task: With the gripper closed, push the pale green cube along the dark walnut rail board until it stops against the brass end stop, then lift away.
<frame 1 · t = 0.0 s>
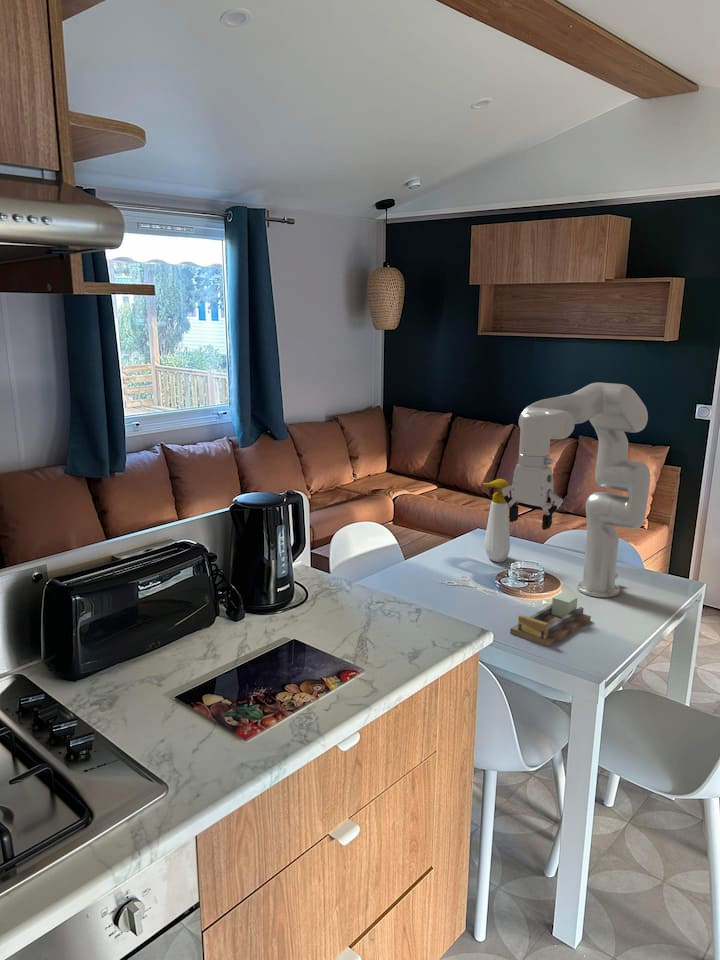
hand: (529, 524, 194), 31 cm above the table, tool pointing down, fingers open, 9 cm apart
track: (551, 627, 206), on the table
spray bottle: (493, 559, 261), on the table
scissors: (473, 589, 235), on the table
pale green cube: (564, 605, 210), point 4 cm above the table, slide at 0.0 cm
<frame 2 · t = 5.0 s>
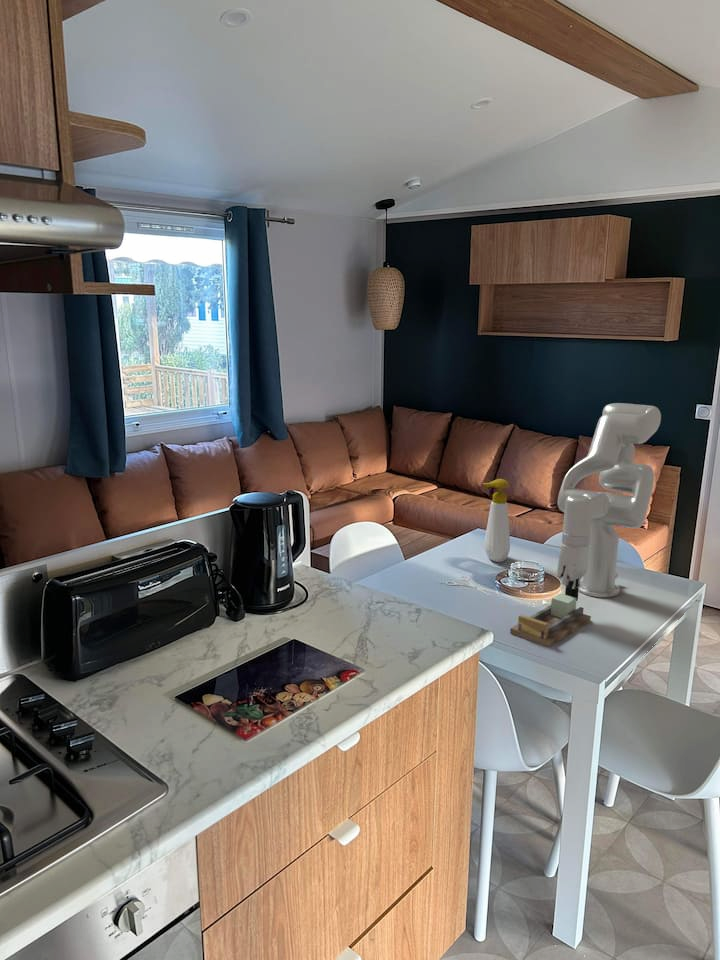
hand: (571, 600, 212), 5 cm above the table, tool pointing down, fingers closed
pale green cube: (563, 606, 209), point 4 cm above the table, slide at 0.5 cm, touching gripper
everything else where it was.
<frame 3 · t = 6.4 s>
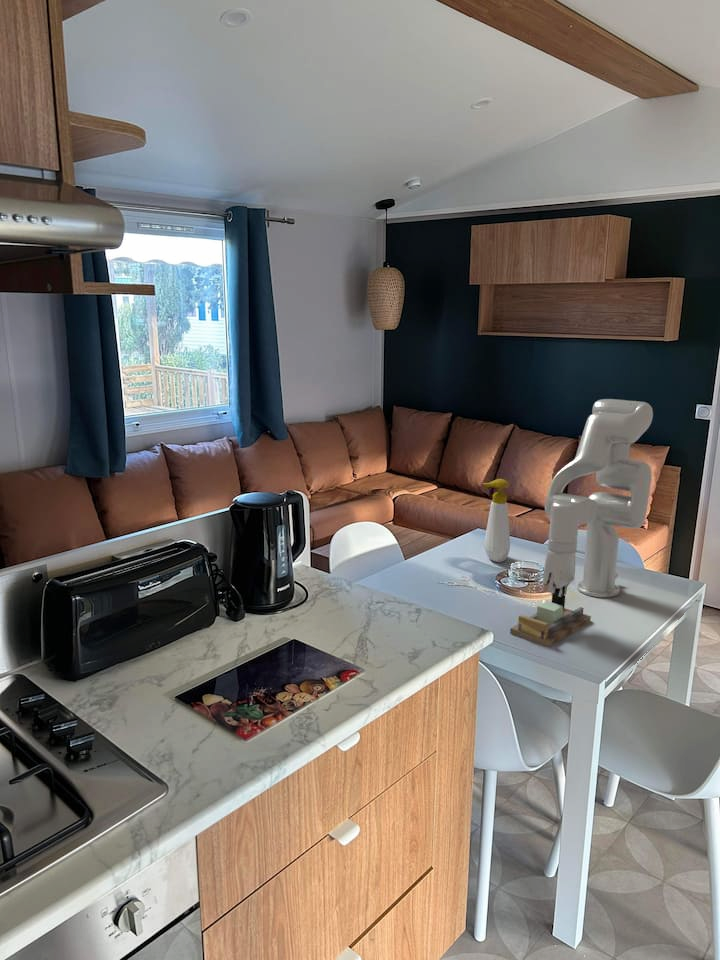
hand: (557, 608, 207), 5 cm above the table, tool pointing down, fingers closed
pale green cube: (549, 614, 204), point 4 cm above the table, slide at 8.3 cm, touching gripper
everything else where it was.
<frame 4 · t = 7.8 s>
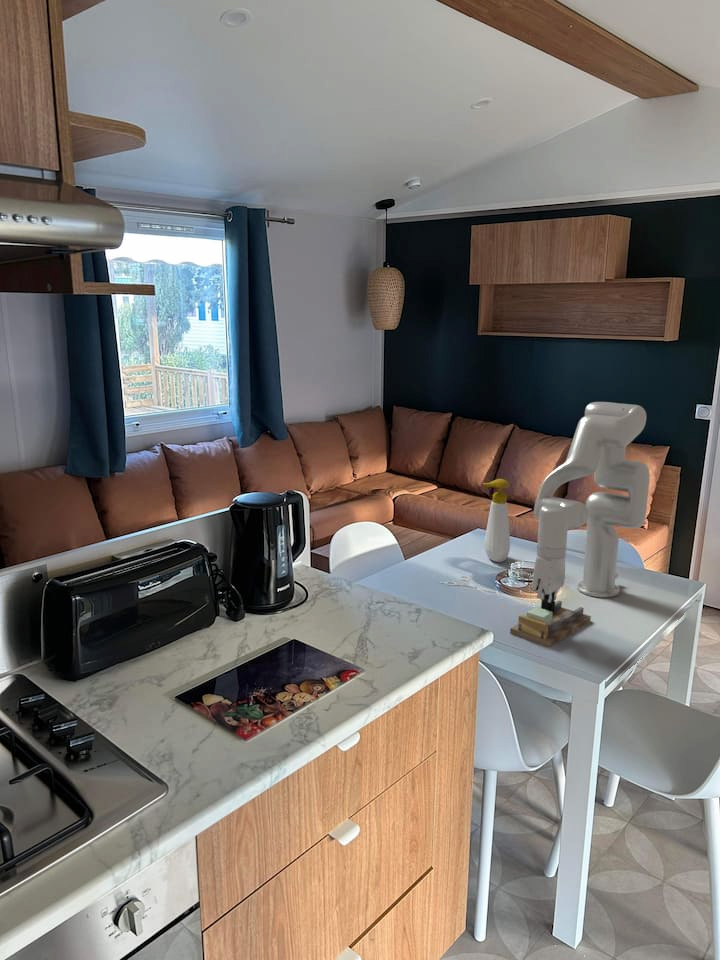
hand: (547, 614, 203), 5 cm above the table, tool pointing down, fingers closed
pale green cube: (539, 620, 200), point 4 cm above the table, slide at 14.0 cm, touching gripper, track
everything else where it was.
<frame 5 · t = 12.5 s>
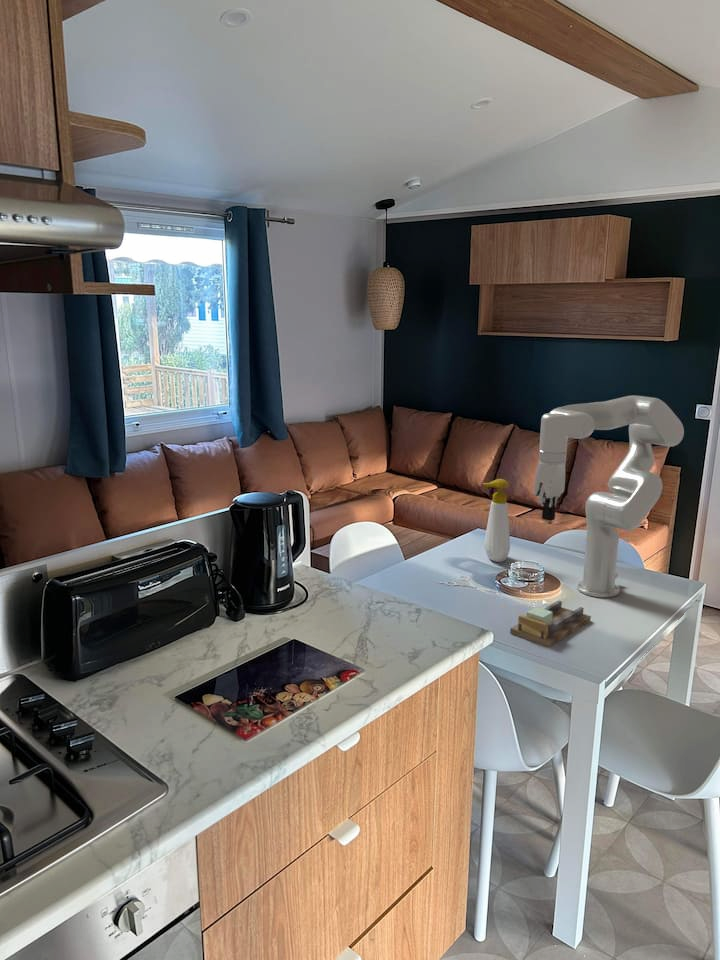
hand: (548, 519, 213), 27 cm above the table, tool pointing down, fingers closed
pale green cube: (539, 620, 200), point 4 cm above the table, slide at 14.0 cm, touching track
everything else where it was.
at the end: pale green cube slide at 14.0 cm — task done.
